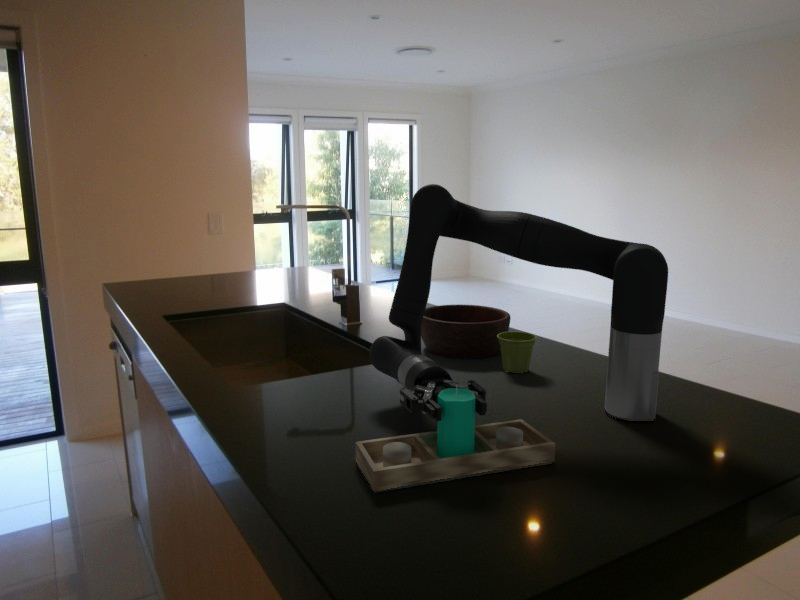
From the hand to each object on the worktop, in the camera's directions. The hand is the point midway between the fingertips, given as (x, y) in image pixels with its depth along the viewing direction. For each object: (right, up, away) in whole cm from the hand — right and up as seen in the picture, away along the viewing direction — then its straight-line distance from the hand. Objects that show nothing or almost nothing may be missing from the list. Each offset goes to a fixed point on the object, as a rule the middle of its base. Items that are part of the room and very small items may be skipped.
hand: (461, 412), depth 91 cm
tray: (-1, -9, +4) cm, 10 cm away
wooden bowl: (+8, +3, +71) cm, 72 cm away
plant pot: (+19, 0, +52) cm, 56 cm away
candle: (-1, -8, +4) cm, 9 cm away
